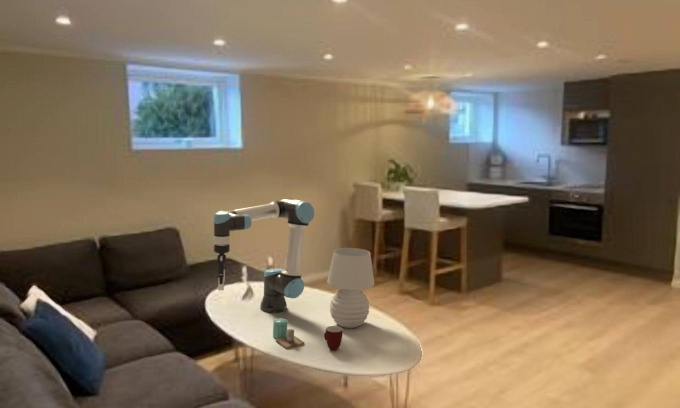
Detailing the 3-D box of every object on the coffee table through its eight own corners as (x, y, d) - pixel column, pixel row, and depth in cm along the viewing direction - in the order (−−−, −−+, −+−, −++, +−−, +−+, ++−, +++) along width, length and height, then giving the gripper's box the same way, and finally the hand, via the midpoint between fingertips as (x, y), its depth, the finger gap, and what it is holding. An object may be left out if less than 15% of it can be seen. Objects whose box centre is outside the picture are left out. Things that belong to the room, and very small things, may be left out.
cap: (282, 332, 262) (283, 317, 261) (289, 337, 256) (290, 321, 255) (270, 335, 258) (270, 319, 257) (277, 340, 252) (277, 324, 251)
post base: (293, 337, 256) (294, 324, 255) (304, 344, 248) (304, 331, 247) (276, 341, 250) (276, 328, 249) (286, 349, 242) (286, 335, 241)
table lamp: (378, 321, 284) (382, 250, 278) (361, 337, 261) (365, 260, 255) (337, 313, 294) (340, 244, 289) (317, 327, 271) (320, 253, 266)
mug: (317, 347, 246) (318, 327, 244) (328, 342, 252) (329, 323, 250) (334, 354, 239) (335, 333, 238) (345, 349, 245) (346, 329, 244)
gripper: (215, 238, 263) (214, 278, 266) (212, 249, 239) (212, 294, 242) (230, 238, 264) (229, 278, 267) (229, 249, 240) (228, 293, 243)
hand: (221, 286), depth 255 cm, fingers open, 13 cm apart
